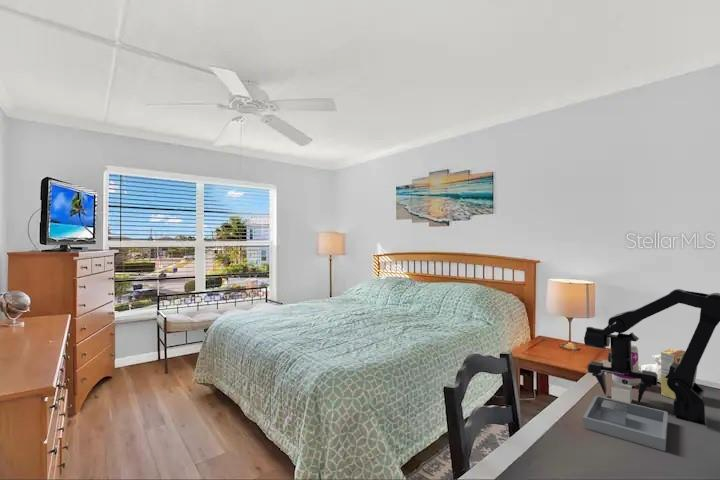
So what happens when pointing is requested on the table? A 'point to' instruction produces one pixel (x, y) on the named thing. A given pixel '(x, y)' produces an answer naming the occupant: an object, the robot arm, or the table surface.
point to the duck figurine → (654, 366)
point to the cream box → (621, 392)
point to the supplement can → (631, 380)
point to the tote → (630, 424)
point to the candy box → (666, 362)
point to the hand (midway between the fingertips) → (621, 398)
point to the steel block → (614, 412)
